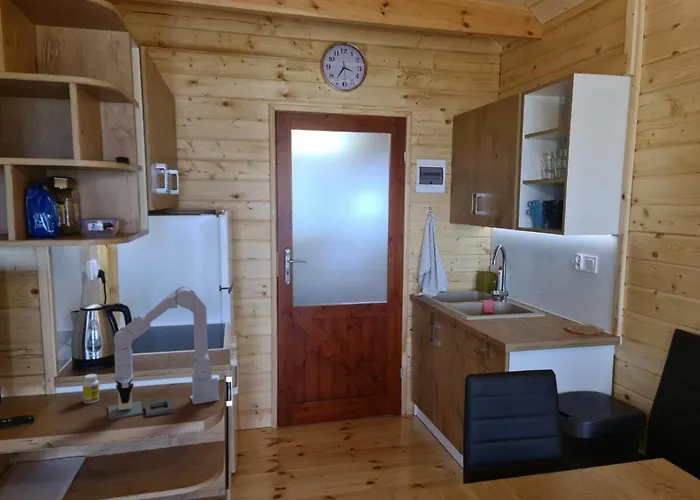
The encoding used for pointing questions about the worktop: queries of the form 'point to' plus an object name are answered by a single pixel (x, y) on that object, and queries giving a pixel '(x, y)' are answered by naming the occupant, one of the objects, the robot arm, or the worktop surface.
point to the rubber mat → (125, 411)
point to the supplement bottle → (90, 389)
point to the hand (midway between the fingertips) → (125, 400)
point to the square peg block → (125, 405)
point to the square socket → (159, 411)
